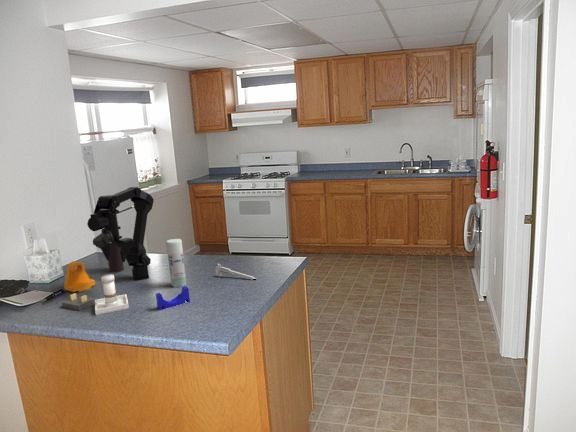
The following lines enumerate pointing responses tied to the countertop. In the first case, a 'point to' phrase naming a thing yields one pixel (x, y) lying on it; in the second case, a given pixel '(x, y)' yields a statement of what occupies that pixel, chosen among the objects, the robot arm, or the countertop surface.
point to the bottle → (115, 259)
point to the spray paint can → (176, 262)
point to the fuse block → (78, 302)
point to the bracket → (77, 278)
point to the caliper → (231, 272)
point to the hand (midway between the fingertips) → (115, 261)
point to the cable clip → (176, 301)
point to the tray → (121, 305)
